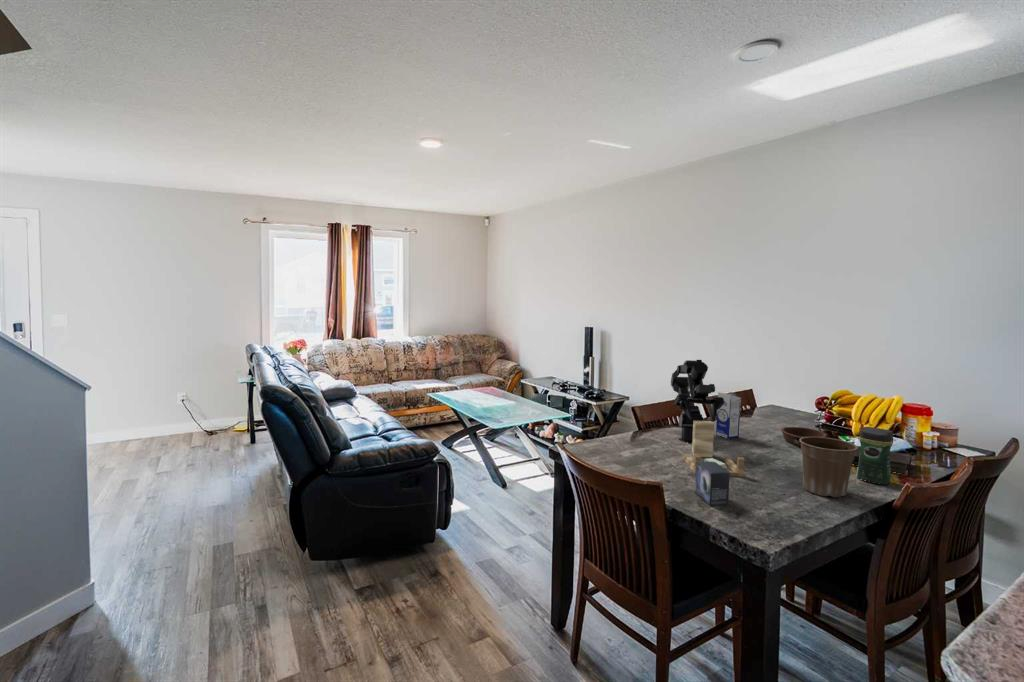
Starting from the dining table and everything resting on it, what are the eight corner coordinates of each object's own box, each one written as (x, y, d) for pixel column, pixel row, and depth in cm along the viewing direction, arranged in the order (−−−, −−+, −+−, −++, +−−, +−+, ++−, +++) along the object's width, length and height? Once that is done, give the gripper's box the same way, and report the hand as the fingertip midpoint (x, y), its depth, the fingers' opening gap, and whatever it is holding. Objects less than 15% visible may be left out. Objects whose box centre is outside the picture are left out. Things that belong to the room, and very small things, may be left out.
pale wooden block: (691, 455, 209) (693, 420, 208) (709, 456, 209) (711, 421, 207) (693, 458, 206) (695, 422, 204) (712, 458, 205) (714, 423, 204)
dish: (776, 445, 226) (777, 433, 225) (783, 434, 244) (784, 423, 243) (823, 452, 216) (824, 440, 215) (827, 440, 234) (828, 429, 233)
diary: (835, 452, 218) (835, 440, 218) (910, 466, 202) (911, 453, 202) (826, 462, 204) (827, 450, 203) (907, 478, 188) (908, 464, 188)
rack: (683, 460, 202) (684, 443, 201) (728, 462, 200) (729, 444, 200) (694, 476, 185) (695, 456, 184) (743, 478, 183) (744, 459, 183)
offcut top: (711, 462, 194) (712, 458, 194) (725, 468, 187) (725, 463, 187) (704, 463, 192) (704, 458, 192) (717, 469, 186) (717, 464, 186)
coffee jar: (892, 482, 182) (897, 429, 181) (886, 487, 177) (890, 433, 175) (860, 474, 190) (864, 423, 188) (853, 479, 184) (857, 427, 183)
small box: (693, 492, 170) (695, 461, 169) (713, 492, 171) (714, 460, 170) (708, 506, 160) (710, 472, 159) (729, 505, 160) (731, 472, 159)
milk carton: (715, 435, 239) (717, 391, 237) (726, 433, 242) (728, 390, 240) (727, 439, 233) (730, 394, 231) (739, 437, 235) (741, 393, 233)
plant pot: (809, 478, 185) (812, 433, 183) (861, 492, 172) (865, 444, 170) (787, 489, 174) (790, 441, 173) (841, 504, 162) (845, 453, 160)
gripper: (680, 374, 213) (686, 408, 204) (726, 377, 214) (733, 411, 204) (671, 388, 222) (676, 421, 213) (715, 392, 223) (722, 425, 213)
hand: (702, 419), depth 210 cm, fingers open, 9 cm apart
